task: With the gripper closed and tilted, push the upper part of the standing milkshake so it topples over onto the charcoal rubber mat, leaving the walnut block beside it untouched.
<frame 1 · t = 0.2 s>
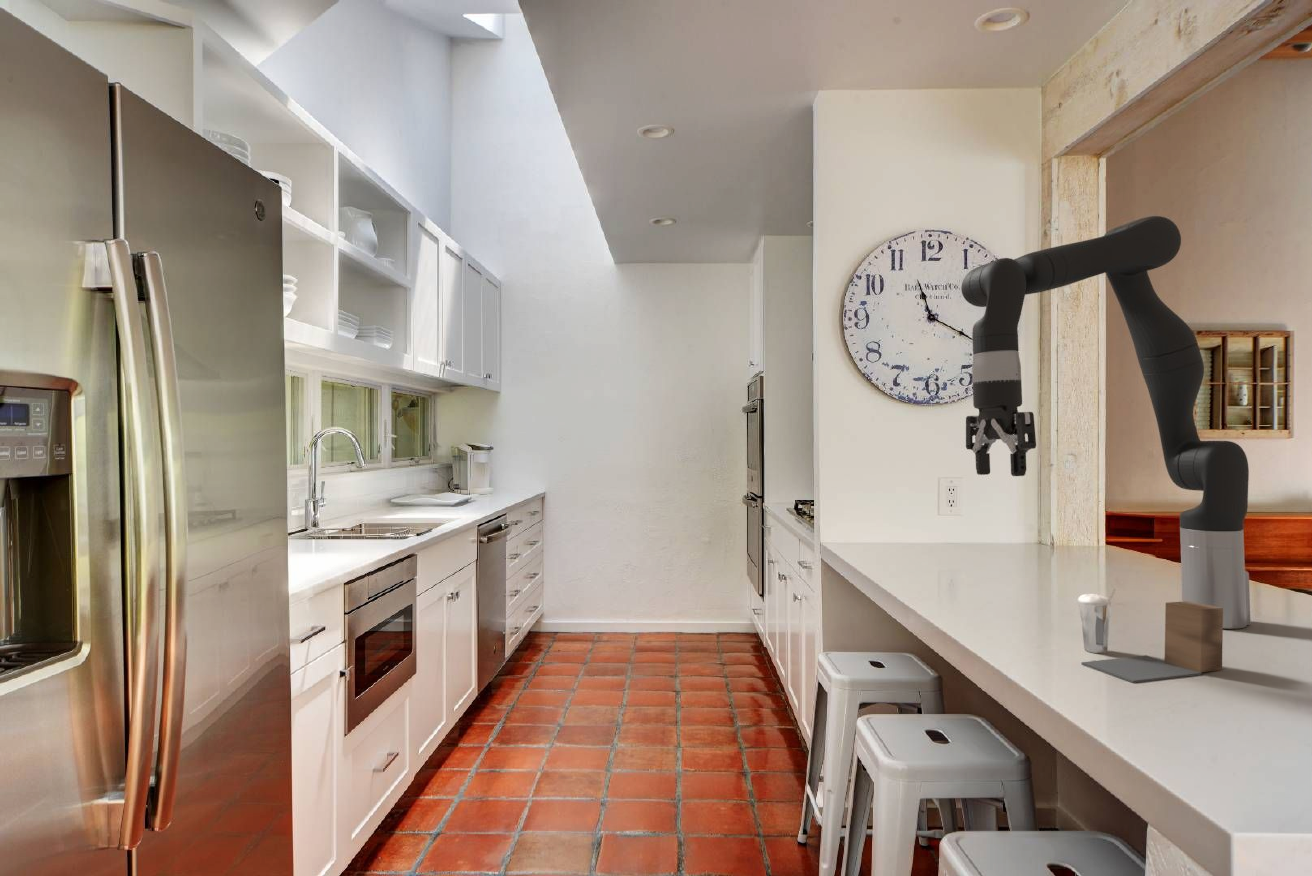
hand: (1000, 475, 123), 28 cm above the countertop, tool pointing down, fingers open, 8 cm apart
mat: (1139, 669, 107), on the countertop
milkshake: (1098, 652, 117), on the countertop
walnut block: (1192, 666, 107), on the countertop, touching mat
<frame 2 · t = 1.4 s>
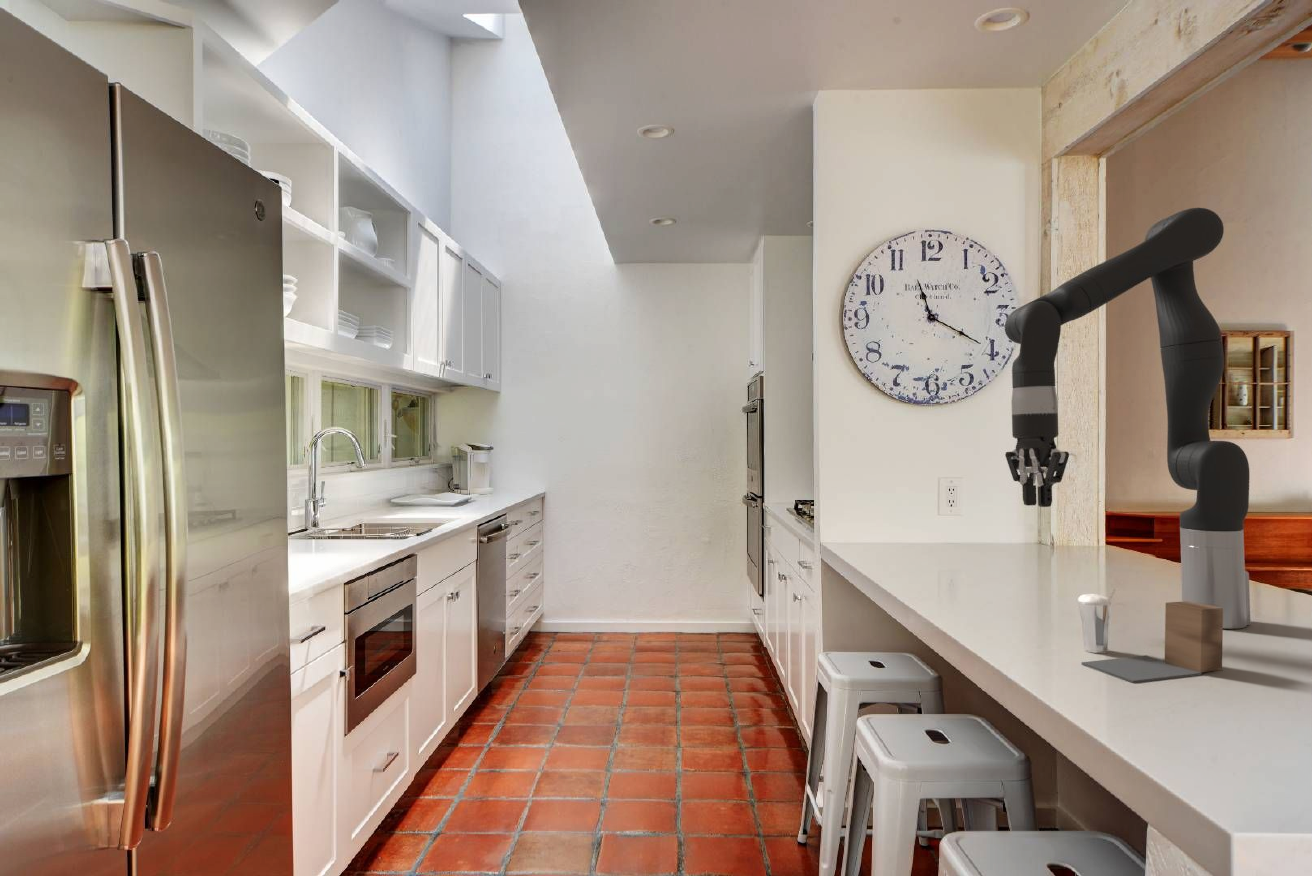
hand: (1037, 505, 133), 22 cm above the countertop, tool pointing down, fingers open, 3 cm apart
nothing on the countertop moved.
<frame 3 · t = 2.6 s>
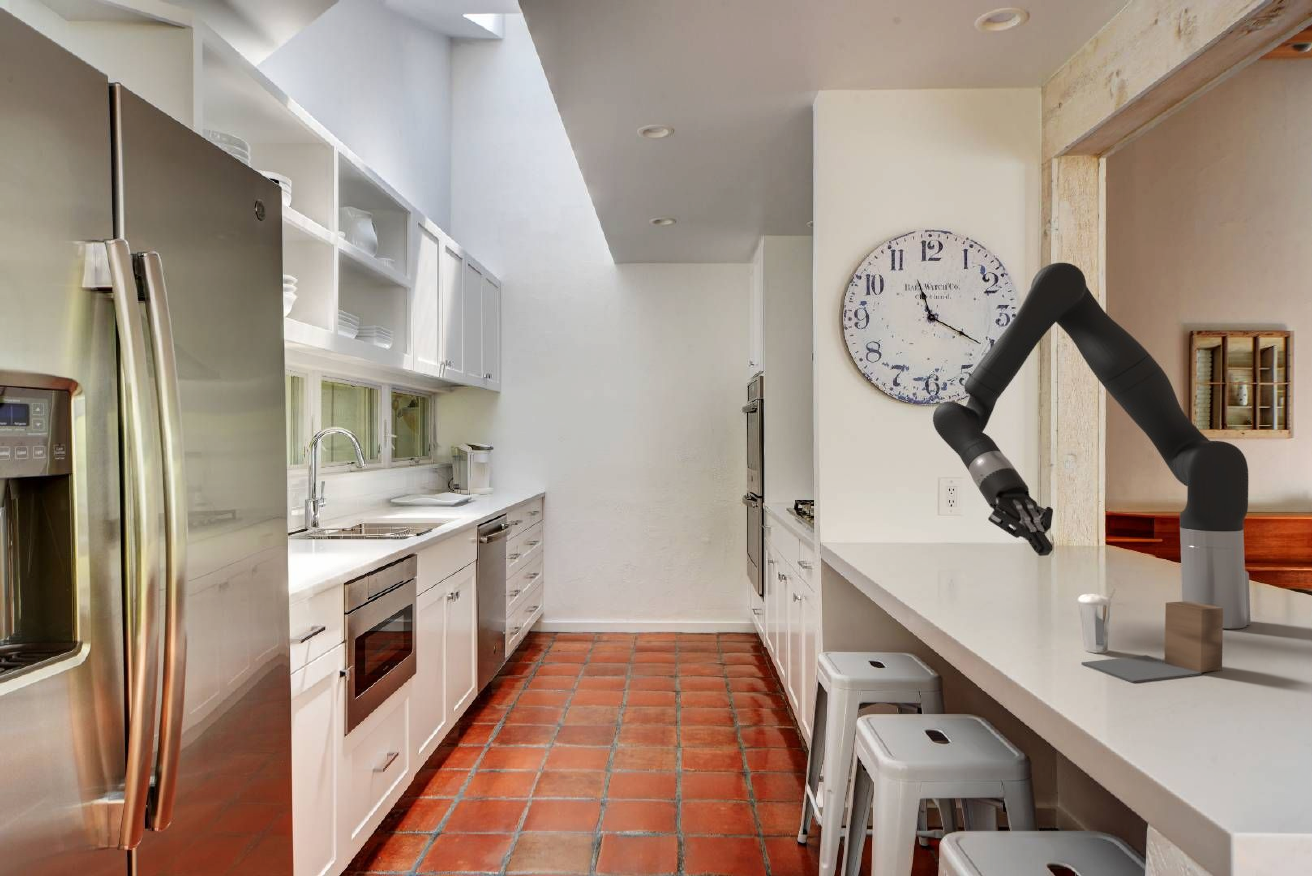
hand: (1046, 552, 127), 14 cm above the countertop, tool tilted 45°, fingers closed
nothing on the countertop moved.
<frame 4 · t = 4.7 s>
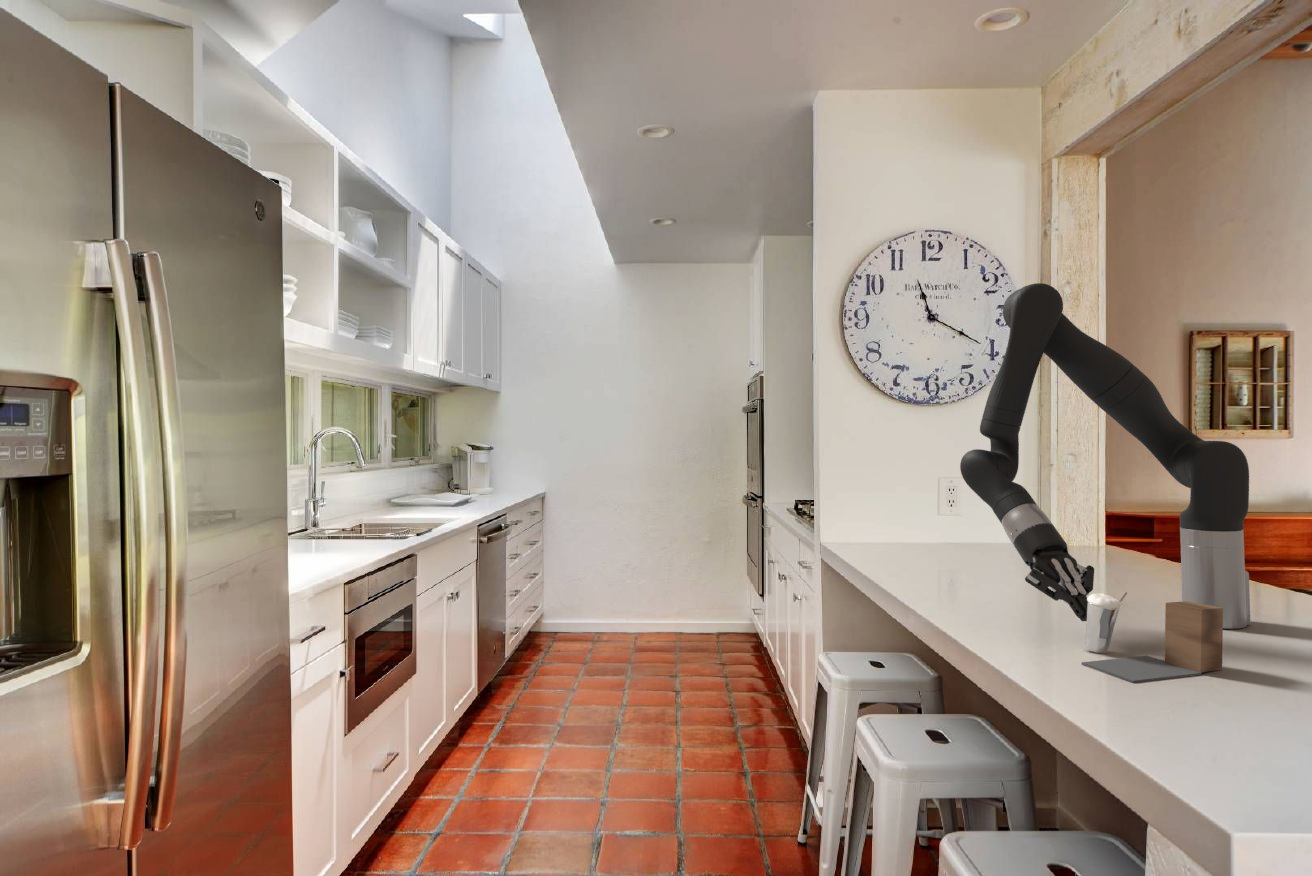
hand: (1089, 618, 118), 5 cm above the countertop, tool tilted 45°, fingers closed
milkshake: (1098, 650, 117), on the countertop, touching gripper
everything else where it was.
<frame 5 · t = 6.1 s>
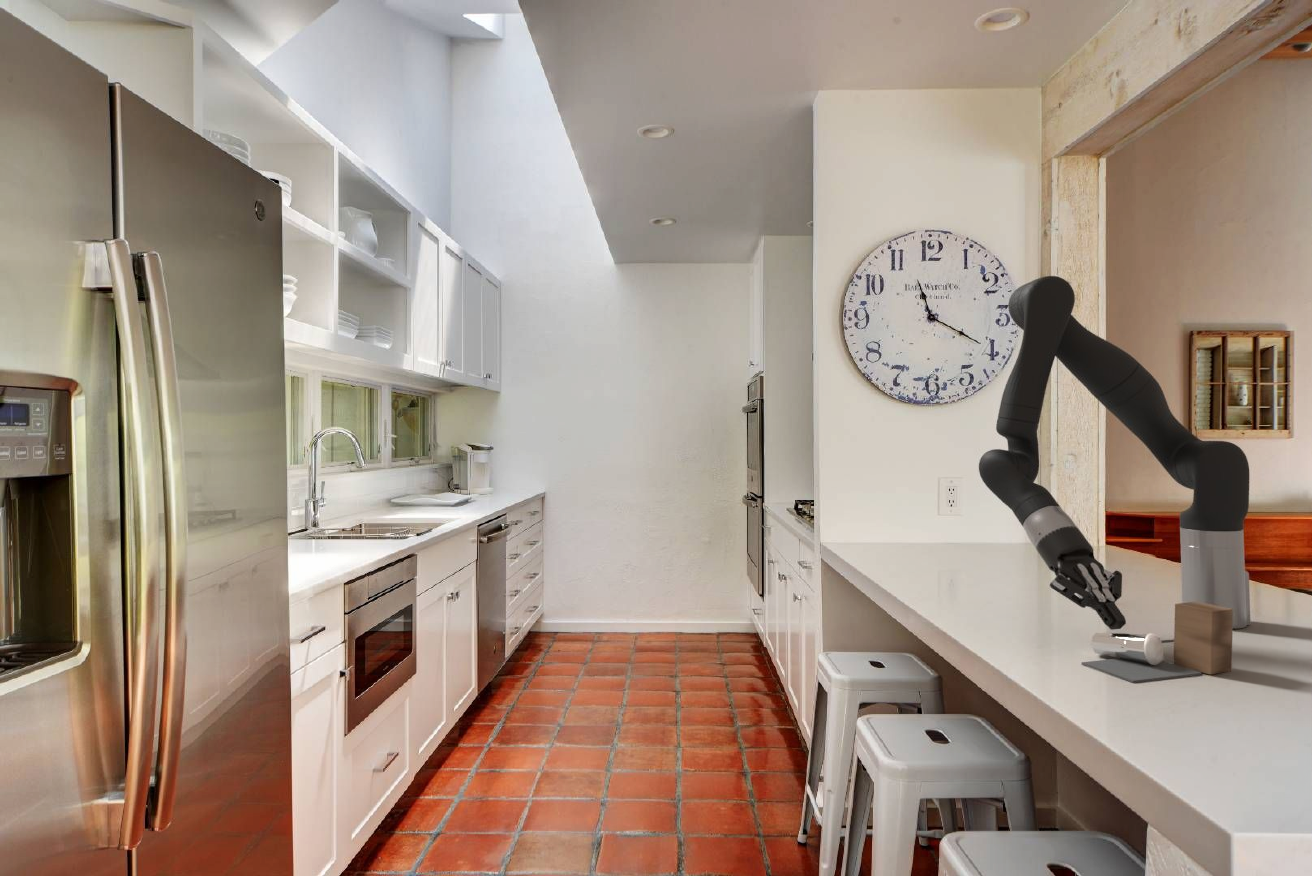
hand: (1119, 626, 113), 5 cm above the countertop, tool tilted 45°, fingers closed
milkshake: (1096, 642, 115), point 2 cm above the countertop, touching mat
walnut block: (1202, 667, 107), on the countertop, touching mat
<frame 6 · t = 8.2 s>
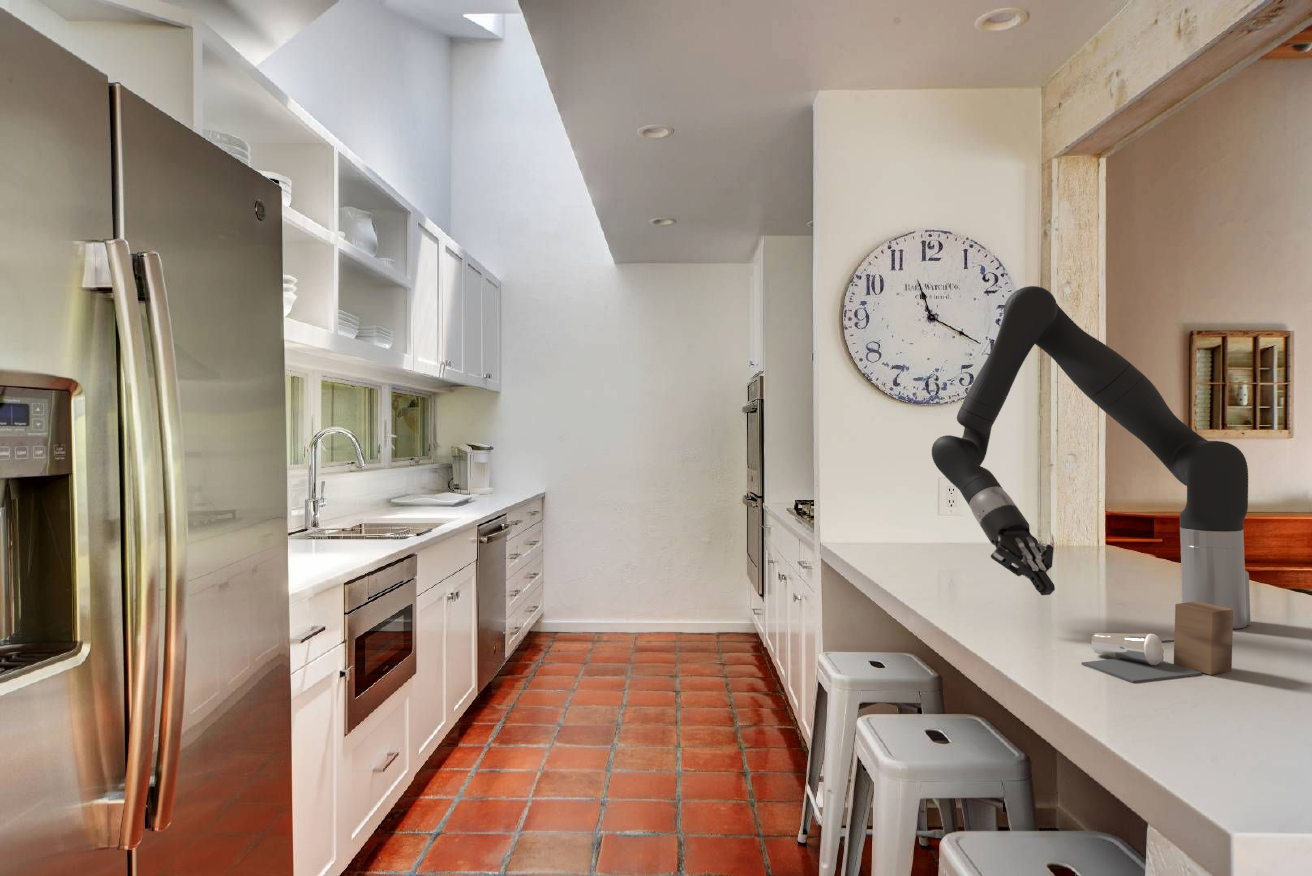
hand: (1049, 592, 127), 7 cm above the countertop, tool tilted 45°, fingers closed
milkshake: (1096, 641, 115), point 2 cm above the countertop, touching mat, walnut block
walnut block: (1202, 667, 107), on the countertop, touching mat, milkshake
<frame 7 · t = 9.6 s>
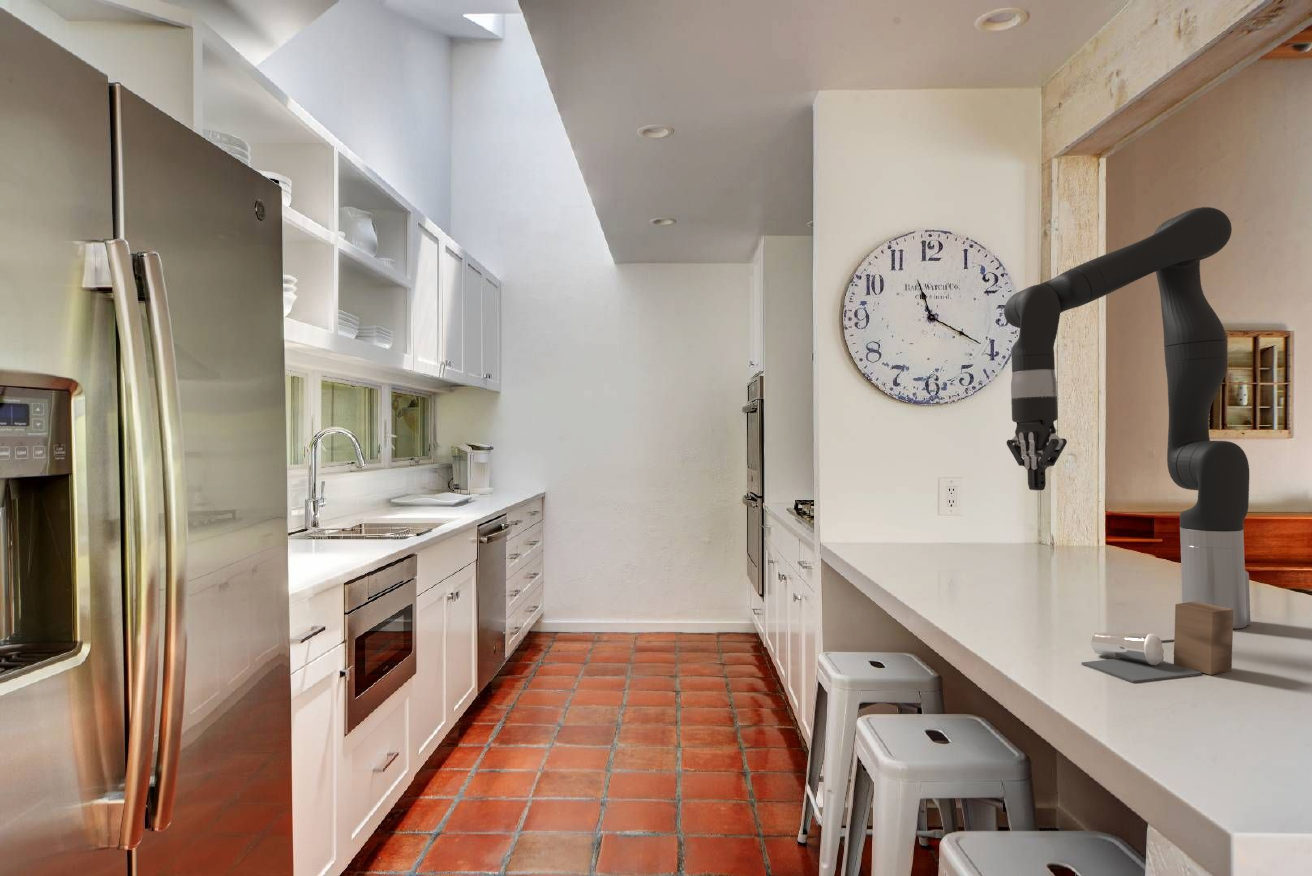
hand: (1036, 489, 133), 25 cm above the countertop, tool pointing down, fingers closed
nothing on the countertop moved.
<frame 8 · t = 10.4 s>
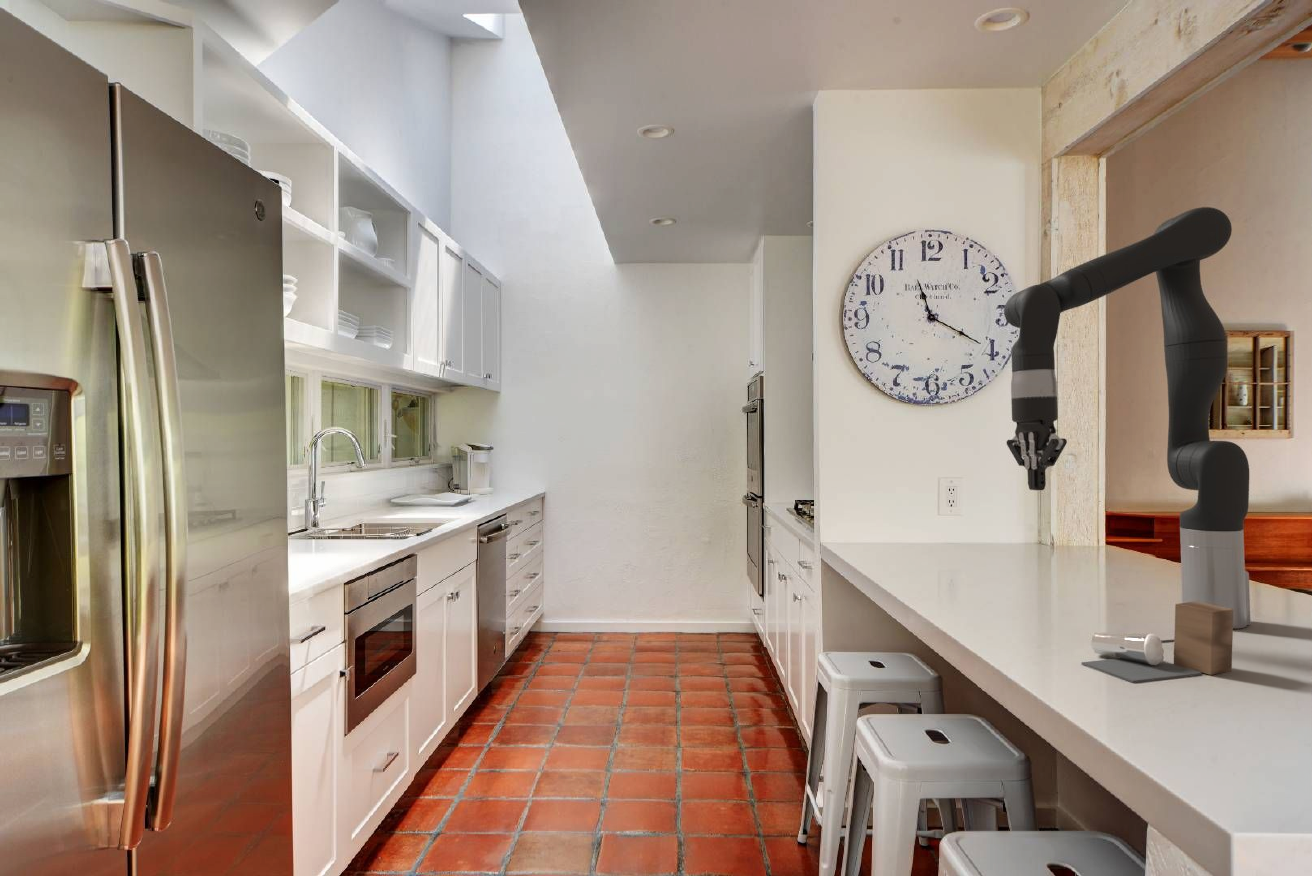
hand: (1036, 489, 133), 25 cm above the countertop, tool pointing down, fingers closed
nothing on the countertop moved.
at the end: milkshake tilted 84°; milkshake inside the target area (7.2 cm from its centre), point 1.9 cm above the countertop; walnut block moved 1.1 cm from its start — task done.
